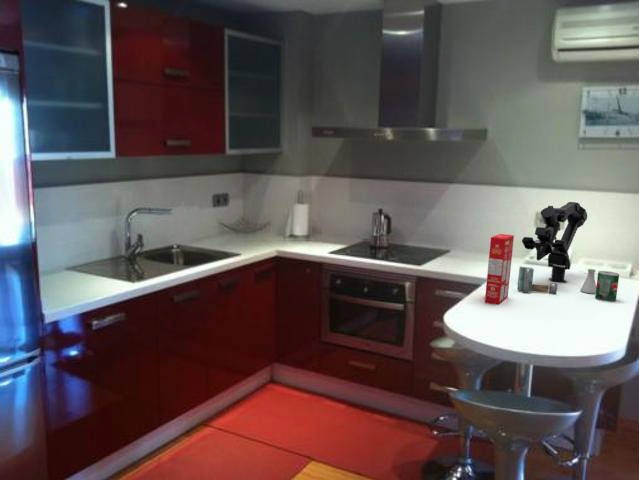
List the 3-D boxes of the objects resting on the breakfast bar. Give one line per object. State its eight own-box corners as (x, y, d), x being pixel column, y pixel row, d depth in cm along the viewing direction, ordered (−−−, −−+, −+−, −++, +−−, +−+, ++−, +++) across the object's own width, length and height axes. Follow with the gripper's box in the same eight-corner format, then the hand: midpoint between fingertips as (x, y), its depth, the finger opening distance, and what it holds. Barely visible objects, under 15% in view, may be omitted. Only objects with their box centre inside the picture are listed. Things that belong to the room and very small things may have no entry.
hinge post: (548, 292, 251) (549, 283, 251) (555, 293, 251) (556, 283, 250) (549, 294, 248) (550, 284, 248) (557, 294, 248) (558, 285, 247)
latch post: (522, 292, 249) (524, 268, 248) (528, 292, 249) (530, 269, 247) (523, 293, 247) (525, 269, 245) (529, 293, 246) (531, 270, 245)
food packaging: (494, 295, 240) (500, 233, 237) (507, 297, 238) (513, 235, 234) (484, 302, 228) (490, 237, 224) (498, 304, 225) (505, 239, 221)
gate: (546, 291, 252) (549, 268, 250) (548, 293, 248) (551, 270, 247) (517, 289, 253) (519, 266, 251) (519, 291, 249) (521, 268, 248)
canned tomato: (618, 302, 239) (621, 275, 238) (597, 300, 241) (600, 273, 239) (613, 298, 247) (616, 272, 245) (592, 296, 249) (595, 270, 247)
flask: (594, 291, 259) (597, 268, 258) (600, 295, 252) (603, 271, 251) (577, 289, 260) (580, 267, 259) (583, 293, 253) (585, 270, 251)
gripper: (524, 218, 265) (511, 246, 259) (566, 221, 252) (553, 250, 245) (532, 234, 271) (519, 261, 265) (573, 238, 258) (561, 266, 252)
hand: (537, 259), depth 257 cm, fingers closed
